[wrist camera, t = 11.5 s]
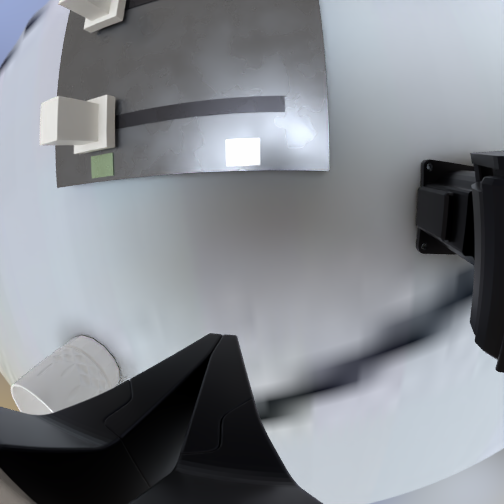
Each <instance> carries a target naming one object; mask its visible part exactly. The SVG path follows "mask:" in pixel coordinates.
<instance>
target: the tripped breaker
mask: <svg viewBox="0 0 504 504" xmlns="http://www.w3.org/2000/svg"><path fill="white" fill-rule="evenodd" d="M44 145H74V154H84V153H89V152H93V151H98V150H104V149H109V148H114V147H115V97H114V96H111V95H104V96H101V97H97V98H94V99H91V100H88V101H83V100H78V99H73V98H68V97H63V96H57V97H54V98H52V99H50V100H47V101H45V102H43V103H41V114H40V146H44Z"/></svg>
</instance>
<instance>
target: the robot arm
mask: <svg viewBox="0 0 504 504" xmlns="http://www.w3.org/2000/svg"><path fill="white" fill-rule="evenodd" d="M470 154H471V160H472V164H474V167H473V166H467V165H461V164H455V163H449V162H442V161H436V160H424V161H423V162H422V165H421V187H420V188H419V189H418V204H417V218H416V225H417V226H418V234H417V243H416V248H417V250H418V251H419V252H421V253H423V254H458V255H459V256H461V257H462V258H464V259H465V260H467V261H468V262H470V263H471V264H473V265H474V284H473V297H472V308H471V317H470V324H471V327H472V329H473V332H474V334H475V335H476V336H475V343H476V344H477V345H478V346H479V347H480V348H481V349H482V350H483V351H485V352H486V353H487V354H489V355H490V356H492V357H494V358H495V359H497V360H498V361H497V365H496V371H498V372H504V151H494V152H480V153H470ZM427 164H430V167H431V168H430V170H428V169H427ZM423 243H425V247H424V248H423V249H422V248H421V246H422V244H423ZM0 504H323V503H321V502H320V501H318V500H317V499H316V498H314V497H313V496H311V495H310V494H309V493H307V492H306V491H305V490H303V489H302V488H301V487H300V486H298V484H297V483H296V482H295V481H294V480H293V478H292V477H291V475H290V474H289V472H288V471H287V469H286V468H285V466H284V464H283V462H282V460H281V459H280V457H279V455H278V453H277V452H276V450H275V448H274V446H273V444H272V442H271V441H270V439H269V437H268V435H267V433H266V431H265V429H264V426H263V424H262V422H261V419H260V416H259V414H258V411H257V408H256V404H255V401H254V397H253V394H252V390H251V387H250V383H249V379H248V376H247V372H246V368H245V365H244V361H243V357H242V353H241V350H240V346H239V342H238V338H237V336H236V335H222V334H212V333H210V334H208V335H206V336H204V337H203V338H201V339H199V340H198V341H196V342H194V343H193V344H191V345H189V346H188V347H186V348H184V349H182V350H181V351H179V352H177V353H176V354H174V355H172V356H170V357H169V358H167V359H165V360H163V361H162V362H160V363H158V364H156V365H155V366H153V367H151V368H149V369H147V370H146V371H144V372H142V373H140V374H138V375H137V376H135V377H133V378H131V379H130V381H129V380H127V381H125V382H124V383H122V384H120V385H118V386H116V387H114V388H112V389H110V390H108V391H106V392H104V393H102V394H99V395H97V396H95V397H92V398H90V399H88V400H85V401H83V402H80V403H78V404H75V405H72V406H70V407H67V408H65V409H62V410H59V411H57V412H54V413H50V414H45V415H32V414H27V413H22V412H18V411H14V410H11V409H7V408H3V407H0Z"/></svg>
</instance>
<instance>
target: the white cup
mask: <svg viewBox="0 0 504 504" xmlns="http://www.w3.org/2000/svg"><path fill="white" fill-rule="evenodd" d="M119 380H120V371H119V368H118V366H117V364H116V362H115V359H114V358H113V357H112V355H111V354H110V353H109V352H108V351H107V349H106V348H105V347H104V346H102V345H101V344H100V343H98V342H97V341H95V340H94V339H92V338H89V337H86V336H83V335H81V336H77V337H74V338H72V339H71V340H70V341H68V342H67V343H66V344H65V345H63V346H62V347H60V348H59V349H57V350H55V351H54V352H53V353H52V354H51V355H49V356H47V357H46V358H45V359H43V360H42V361H41V362H39V363H38V364H37V365H36V366H34V367H33V368H32V369H31V370H30V371H28V372H27V373H26V374H25V375H23V376H22V377H21V378H20V379H18V380H17V381H16V382H15V383H14V384H12V385H11V394H12V397H13V399H14V401H15V403H16V405H17V407H18V408H19V410H20V411H21V412H22V413H27V414H32V415H45V414H50V413H54V412H57V411H59V410H62V409H65V408H67V407H70V406H72V405H75V404H78V403H80V402H83V401H85V400H88V399H90V398H92V397H95V396H97V395H99V394H102V393H104V392H106V391H108V390H110V389H112V388H114V387H115V386H116V385H117V384H118V382H119Z"/></svg>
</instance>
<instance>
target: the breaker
mask: <svg viewBox="0 0 504 504" xmlns="http://www.w3.org/2000/svg"><path fill="white" fill-rule="evenodd" d="M125 4H126V0H60V1H59V5H61V6H63V7H65V8H67V9H69V10H71V11H73V12H75V13H77V14H79V15H81V16H83V17H85V18H86V19H85V24H84V30H86V31H88V32H90V33H92V32H94V31H97V30H99V29H102V28H104V27H107V26H110V25H112V24H115V23H118V22H120V21H123V16H124V10H125Z"/></svg>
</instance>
